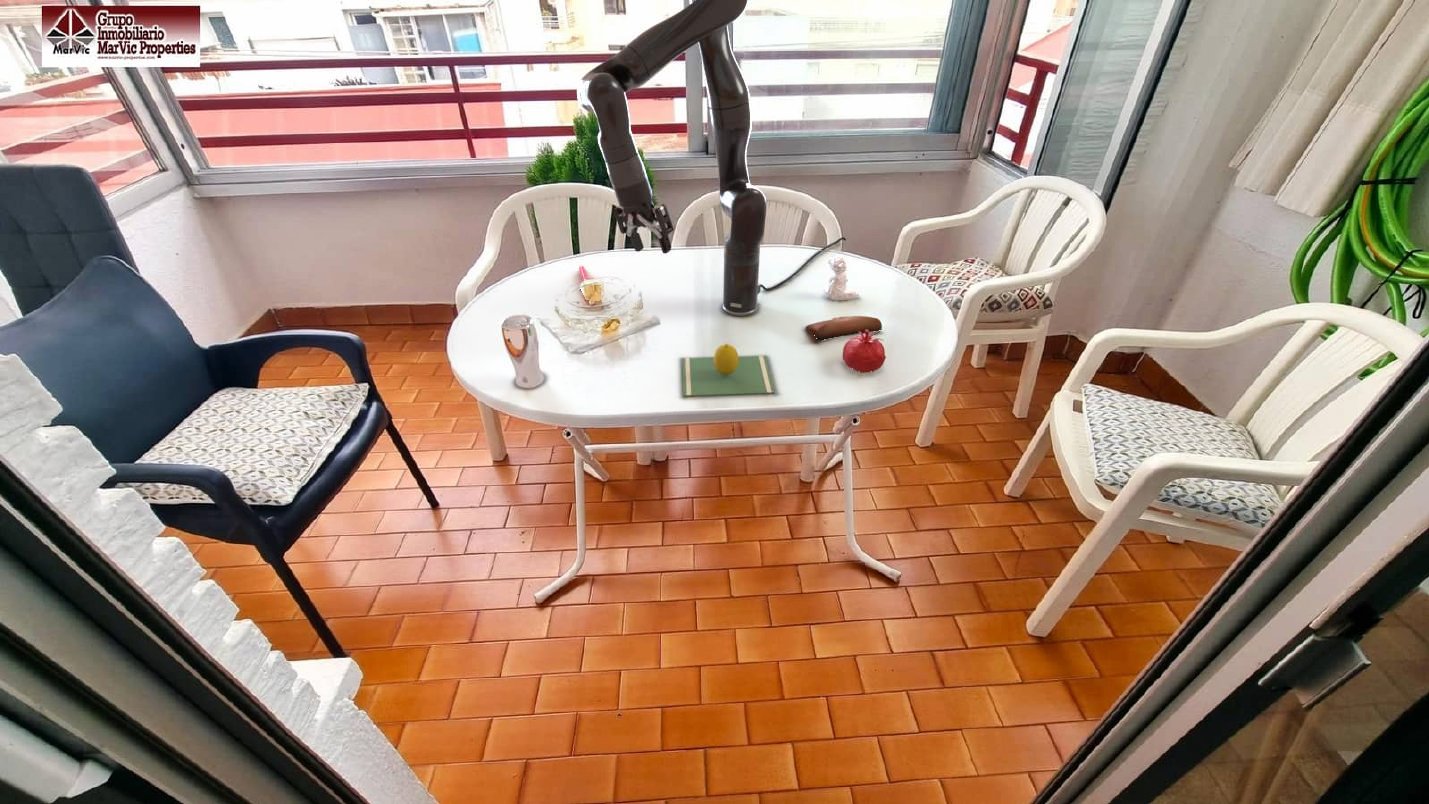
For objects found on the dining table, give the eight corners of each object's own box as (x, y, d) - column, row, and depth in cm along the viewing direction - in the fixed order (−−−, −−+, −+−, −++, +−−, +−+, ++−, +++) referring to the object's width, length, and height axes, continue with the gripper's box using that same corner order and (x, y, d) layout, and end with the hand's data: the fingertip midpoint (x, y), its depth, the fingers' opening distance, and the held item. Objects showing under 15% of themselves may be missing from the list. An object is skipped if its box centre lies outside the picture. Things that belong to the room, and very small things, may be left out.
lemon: (735, 382, 129) (736, 352, 124) (711, 379, 130) (711, 349, 125) (739, 369, 133) (740, 339, 128) (716, 366, 134) (716, 336, 129)
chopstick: (584, 309, 159) (600, 302, 159) (581, 303, 158) (597, 296, 158) (574, 274, 177) (588, 268, 177) (571, 268, 176) (585, 262, 176)
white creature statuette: (859, 298, 163) (866, 258, 156) (837, 306, 159) (843, 265, 152) (836, 286, 169) (842, 247, 162) (814, 294, 165) (819, 254, 158)
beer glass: (517, 372, 132) (503, 314, 123) (548, 371, 133) (536, 313, 124) (511, 390, 127) (496, 330, 118) (543, 388, 127) (530, 329, 118)
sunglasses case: (865, 317, 153) (875, 303, 147) (874, 339, 151) (885, 326, 145) (803, 326, 149) (810, 312, 143) (811, 350, 147) (819, 337, 141)
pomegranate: (856, 382, 130) (863, 346, 124) (832, 360, 137) (837, 325, 132) (892, 372, 133) (900, 337, 128) (866, 351, 140) (873, 317, 135)
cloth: (682, 359, 137) (682, 358, 137) (765, 357, 138) (765, 355, 138) (683, 396, 125) (683, 395, 125) (774, 393, 126) (774, 392, 126)
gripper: (665, 171, 118) (687, 244, 127) (617, 173, 126) (641, 241, 136) (642, 186, 114) (666, 261, 123) (594, 187, 122) (620, 257, 132)
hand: (653, 250), depth 129 cm, fingers open, 8 cm apart
